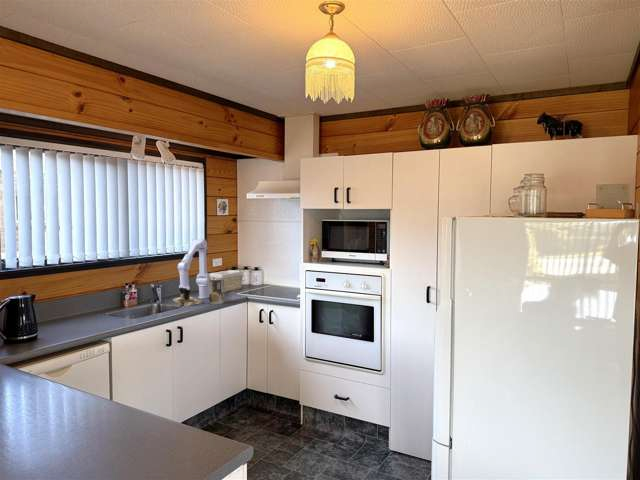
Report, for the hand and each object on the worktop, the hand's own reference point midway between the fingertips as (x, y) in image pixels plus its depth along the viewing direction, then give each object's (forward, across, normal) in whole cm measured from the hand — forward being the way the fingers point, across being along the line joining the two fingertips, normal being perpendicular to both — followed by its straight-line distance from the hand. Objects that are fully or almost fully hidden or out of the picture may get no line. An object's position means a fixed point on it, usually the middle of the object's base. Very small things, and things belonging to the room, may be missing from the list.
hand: (185, 298), depth 310 cm
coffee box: (+4, +12, +18) cm, 22 cm away
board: (+4, -7, +4) cm, 9 cm away
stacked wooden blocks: (+4, 0, +1) cm, 4 cm away
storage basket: (+4, -31, +47) cm, 56 cm away
